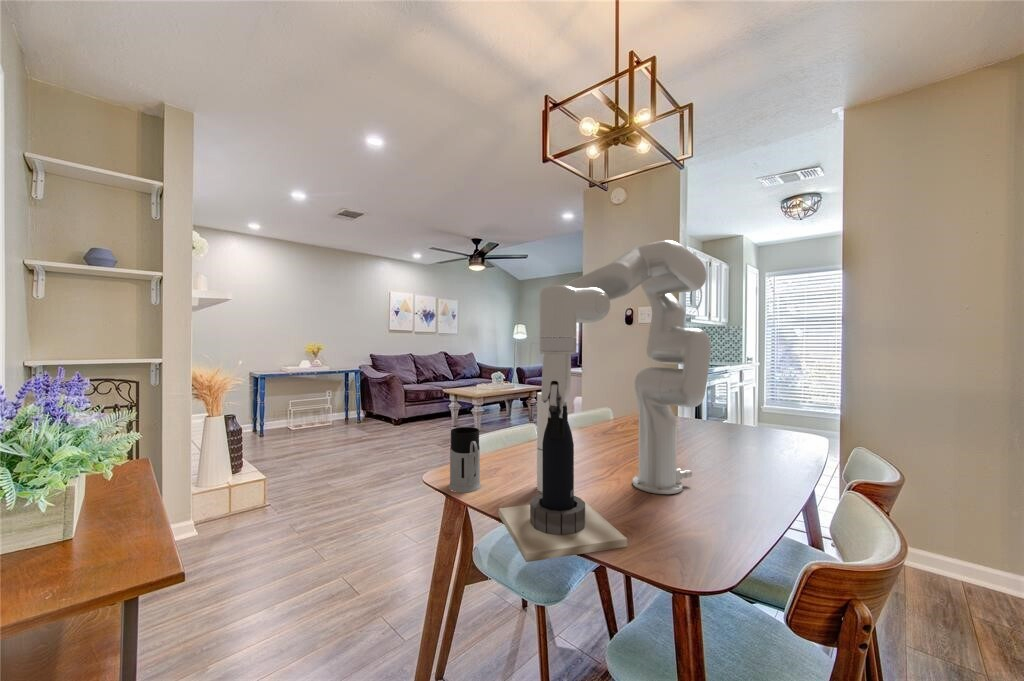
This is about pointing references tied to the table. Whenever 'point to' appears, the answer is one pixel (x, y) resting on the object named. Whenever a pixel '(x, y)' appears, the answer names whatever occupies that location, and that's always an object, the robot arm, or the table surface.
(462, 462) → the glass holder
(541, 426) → the cylindrical container
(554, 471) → the wine bottle
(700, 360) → the robot arm
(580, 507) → the bottle stand
